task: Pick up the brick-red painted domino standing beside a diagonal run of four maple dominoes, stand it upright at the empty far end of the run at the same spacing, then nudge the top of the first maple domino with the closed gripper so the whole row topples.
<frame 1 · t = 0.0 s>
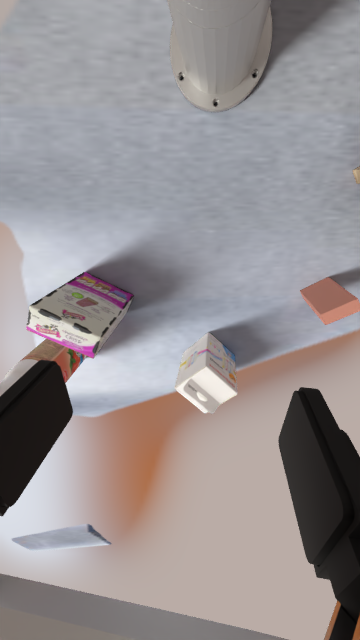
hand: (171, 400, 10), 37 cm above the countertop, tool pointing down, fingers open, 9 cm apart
fruit juice: (71, 343, 57), on the countertop
candy bar box: (107, 292, 49), on the countertop
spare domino: (315, 288, 43), on the countertop
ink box: (208, 353, 53), on the countertop
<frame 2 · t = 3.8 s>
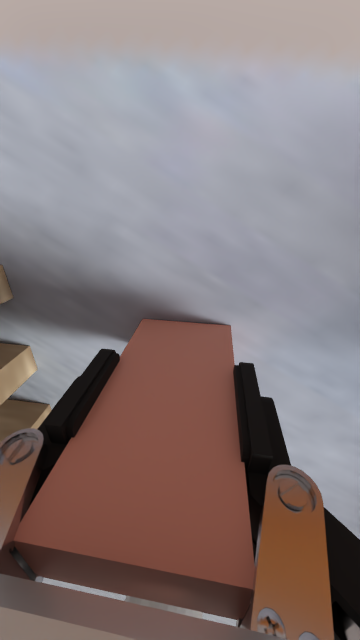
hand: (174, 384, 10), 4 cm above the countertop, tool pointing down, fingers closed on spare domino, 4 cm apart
domino 2: (24, 409, 19), on the countertop
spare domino: (185, 337, 14), on the countertop, touching gripper
domino 3: (1, 354, 17), on the countertop
when the fingers open (5 cm above the countertop, at t = 10.3 s): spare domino stays where it is, on the countertop.
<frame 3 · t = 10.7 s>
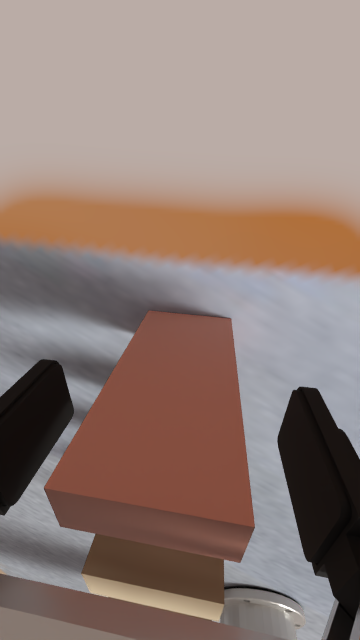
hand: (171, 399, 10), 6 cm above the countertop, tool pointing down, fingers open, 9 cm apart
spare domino: (188, 328, 15), on the countertop
domino 4: (184, 393, 17), on the countertop
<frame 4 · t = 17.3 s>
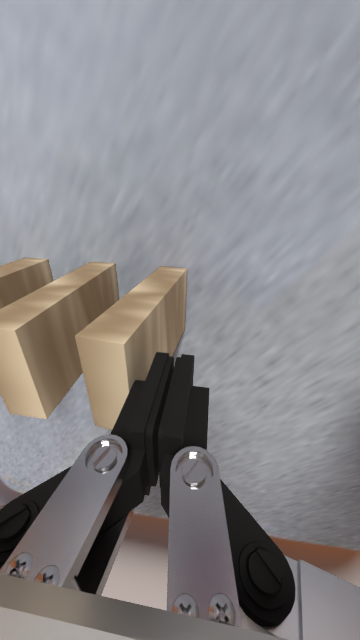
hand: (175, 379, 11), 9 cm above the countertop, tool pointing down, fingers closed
domino 2: (106, 293, 19), on the countertop
domino 1: (173, 299, 18), on the countertop, tilted 6°
domino 3: (44, 288, 20), on the countertop
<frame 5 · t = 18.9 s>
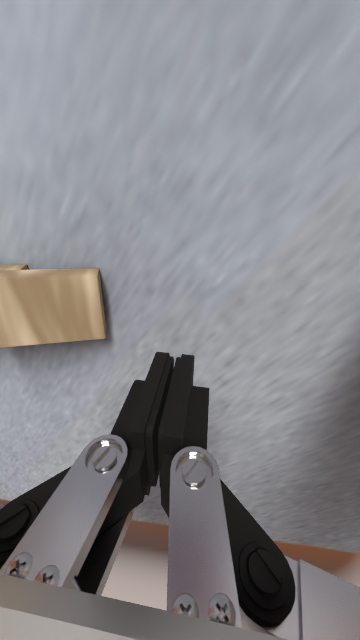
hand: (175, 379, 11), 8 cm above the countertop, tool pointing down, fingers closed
domino 1: (102, 303, 18), point 1 cm above the countertop, tilted 69°, touching domino 2
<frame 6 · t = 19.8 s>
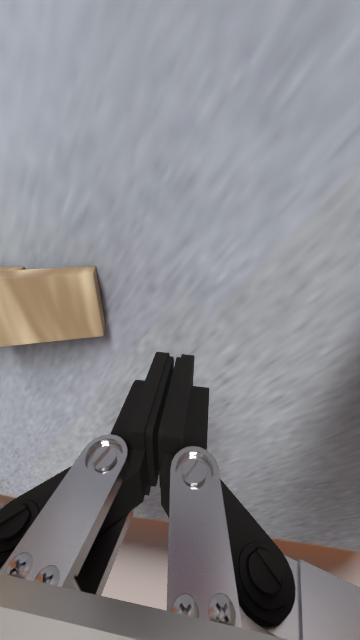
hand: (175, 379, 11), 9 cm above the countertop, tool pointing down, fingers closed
domino 1: (99, 301, 18), point 1 cm above the countertop, tilted 70°, touching domino 2
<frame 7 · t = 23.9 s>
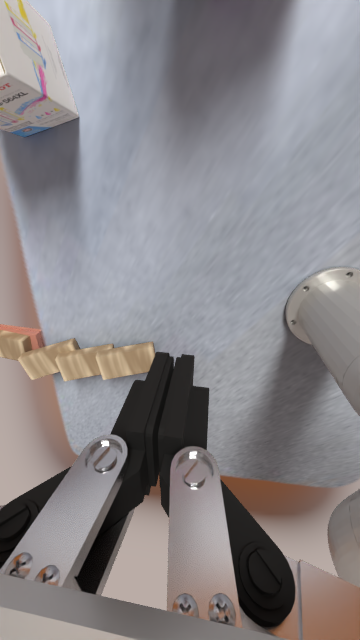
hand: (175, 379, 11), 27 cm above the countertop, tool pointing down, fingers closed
domino 2: (115, 357, 45), point 1 cm above the countertop, tilted 72°, touching domino 1, domino 3
domino 1: (155, 355, 43), point 1 cm above the countertop, tilted 75°, touching domino 2
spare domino: (41, 342, 47), on the countertop, tilted 90°, touching domino 4
domino 3: (78, 351, 45), point 1 cm above the countertop, tilted 72°, touching domino 2, domino 4
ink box: (37, 86, 28), on the countertop
domino 4: (28, 349, 45), point 2 cm above the countertop, tilted 90°, touching domino 3, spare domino
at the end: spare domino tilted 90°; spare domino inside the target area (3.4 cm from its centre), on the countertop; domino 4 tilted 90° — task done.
